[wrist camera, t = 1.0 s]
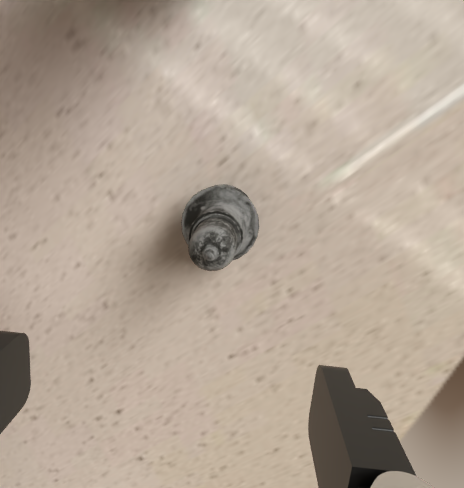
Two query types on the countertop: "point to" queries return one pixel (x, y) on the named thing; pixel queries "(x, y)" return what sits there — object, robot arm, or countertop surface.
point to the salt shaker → (219, 226)
